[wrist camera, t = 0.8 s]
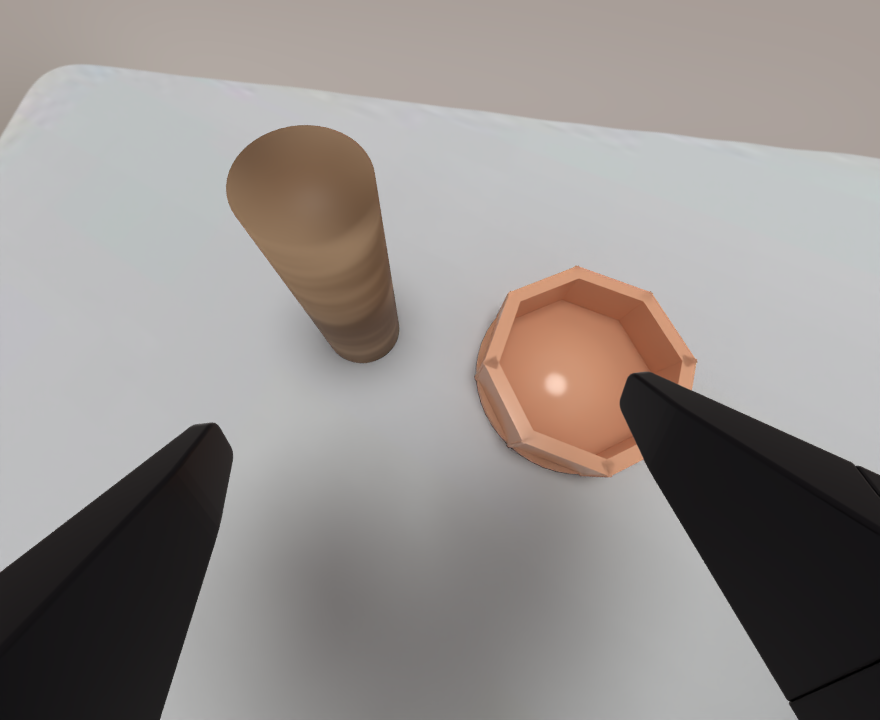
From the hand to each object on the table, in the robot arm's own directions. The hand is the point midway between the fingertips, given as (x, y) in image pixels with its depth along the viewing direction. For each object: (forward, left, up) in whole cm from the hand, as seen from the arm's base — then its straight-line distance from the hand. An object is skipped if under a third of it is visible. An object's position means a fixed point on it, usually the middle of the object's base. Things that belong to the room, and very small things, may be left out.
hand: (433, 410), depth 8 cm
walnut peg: (+6, +7, -15) cm, 17 cm away
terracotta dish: (+8, -7, -15) cm, 18 cm away
